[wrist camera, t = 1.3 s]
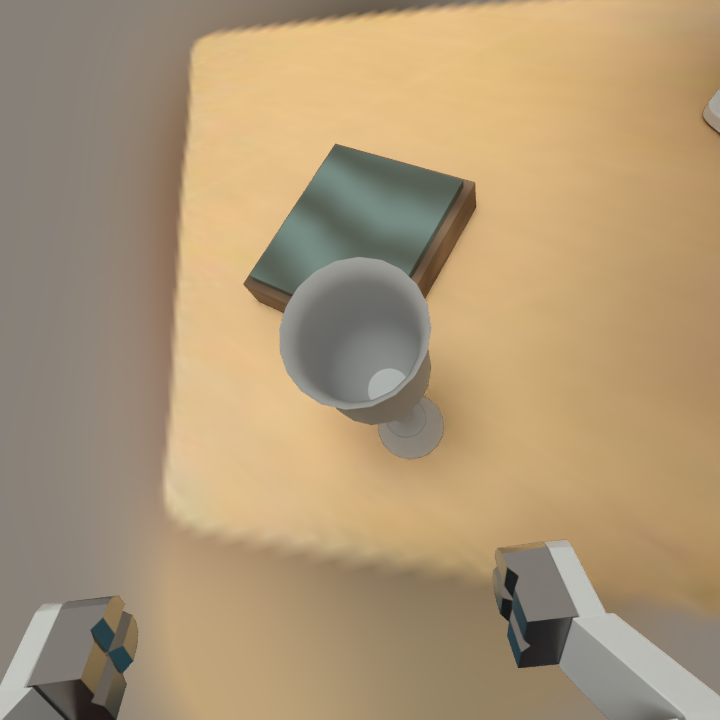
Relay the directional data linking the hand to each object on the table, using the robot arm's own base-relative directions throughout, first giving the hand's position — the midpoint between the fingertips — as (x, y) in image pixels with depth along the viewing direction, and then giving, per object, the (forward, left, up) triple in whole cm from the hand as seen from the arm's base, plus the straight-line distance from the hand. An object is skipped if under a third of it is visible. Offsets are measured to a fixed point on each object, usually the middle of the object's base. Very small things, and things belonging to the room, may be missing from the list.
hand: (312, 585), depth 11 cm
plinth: (-20, -17, -26) cm, 37 cm away
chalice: (-8, -6, -26) cm, 28 cm away
